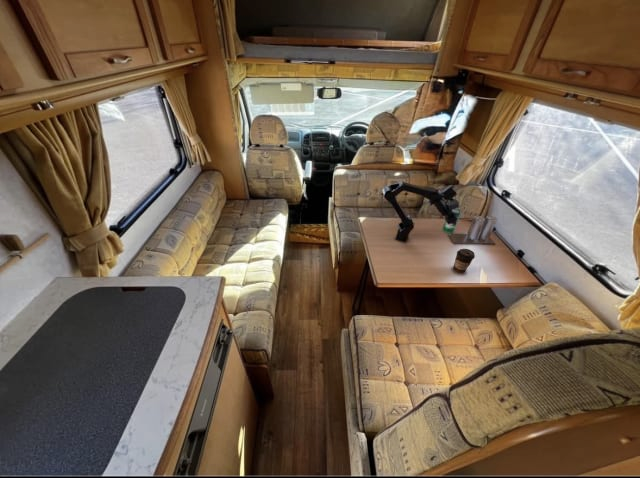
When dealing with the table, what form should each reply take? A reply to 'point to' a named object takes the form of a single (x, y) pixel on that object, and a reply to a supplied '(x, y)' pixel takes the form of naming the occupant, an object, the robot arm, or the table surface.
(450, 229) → the can
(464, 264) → the coffee cup
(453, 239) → the dark grey flat slab
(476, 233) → the cans
